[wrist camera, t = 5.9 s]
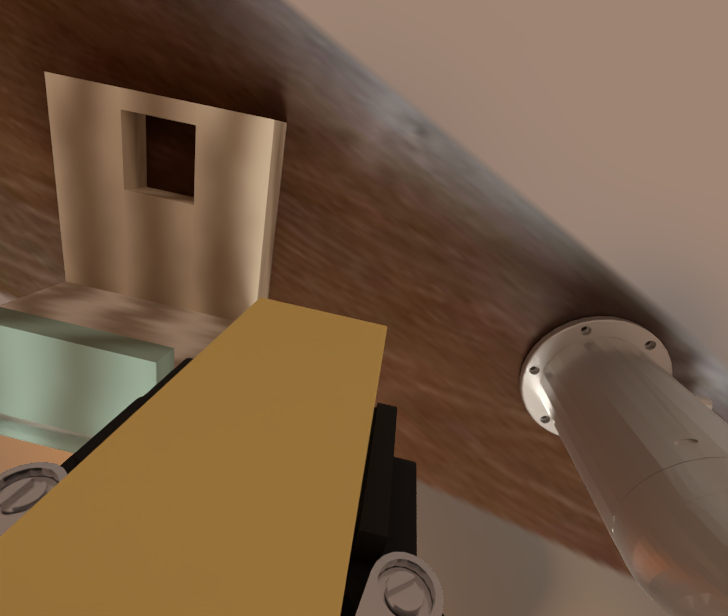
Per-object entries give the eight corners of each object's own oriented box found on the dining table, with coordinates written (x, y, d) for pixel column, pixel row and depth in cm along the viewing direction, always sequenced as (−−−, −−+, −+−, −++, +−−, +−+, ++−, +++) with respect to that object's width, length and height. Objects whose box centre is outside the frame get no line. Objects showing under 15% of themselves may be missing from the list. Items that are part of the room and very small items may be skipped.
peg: (387, 326, 13) (233, 1268, 2) (362, 430, 15) (203, 1258, 4) (260, 297, 13) (-520, 1014, 2) (249, 402, 15) (-225, 1116, 4)
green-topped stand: (298, 125, 32) (153, 88, 14) (274, 328, 39) (157, 474, 21) (64, 76, 32) (-351, -17, 15) (82, 284, 39) (-185, 388, 22)
